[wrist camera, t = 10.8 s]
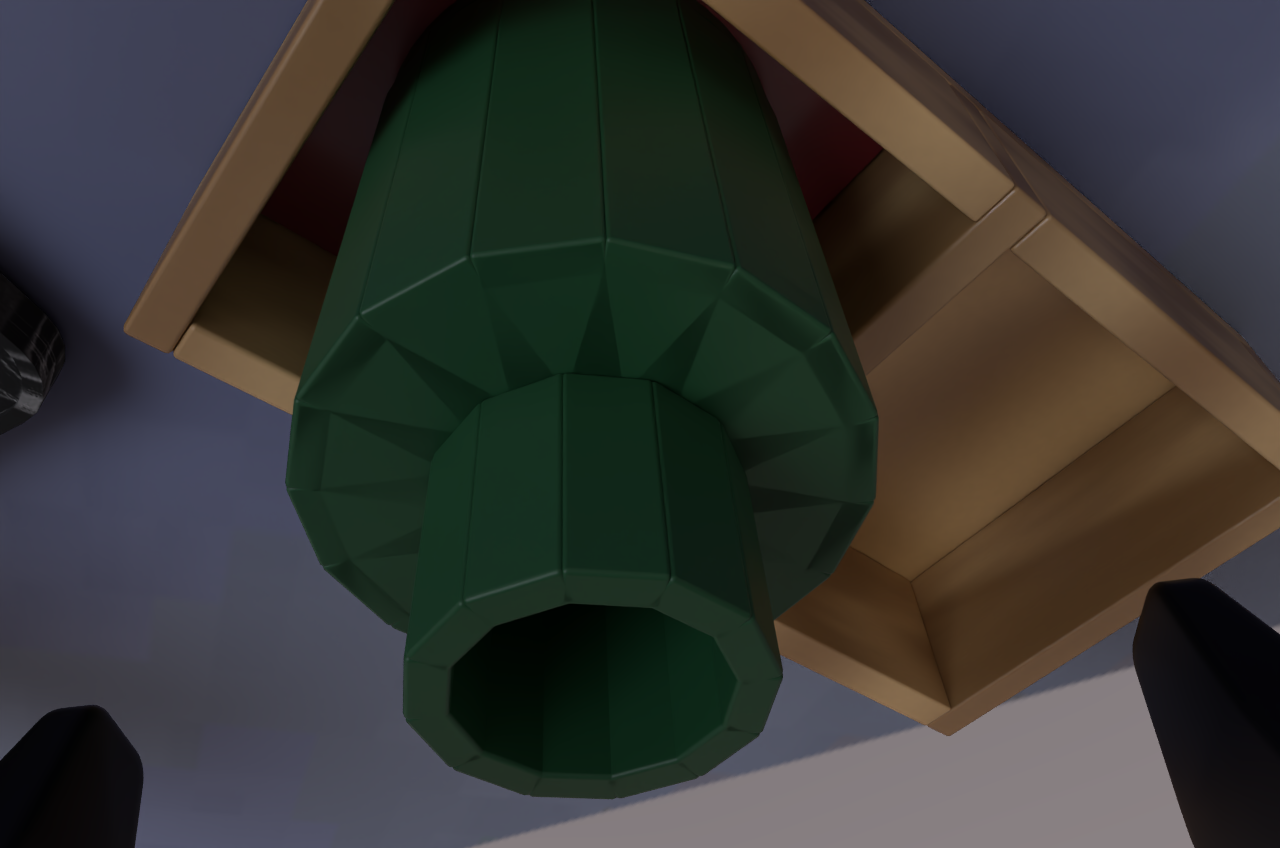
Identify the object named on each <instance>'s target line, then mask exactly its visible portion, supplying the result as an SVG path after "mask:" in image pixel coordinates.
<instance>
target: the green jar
mask: <svg viewBox="0 0 1280 848" xmlns="http://www.w3.org/2000/svg"><path fill="white" fill-rule="evenodd" d="M878 431H879V416H878V413H877V408H876V405H875V402H874V399H873V396H872V394H871V391H870V388H869V385H868V382H867V379H866V376H865V373H864V370H863V367H862V365H861V362H860V359H859V356H858V353H857V350H856V347H855V344H854V341H853V338H852V335H851V333H850V330H849V327H848V324H847V321H846V318H845V315H844V312H843V309H842V306H841V303H840V301H839V298H838V295H837V292H836V289H835V286H834V283H833V280H832V277H831V274H830V271H829V269H828V266H827V263H826V260H825V257H824V254H823V251H822V248H821V245H820V242H819V240H818V237H817V234H816V231H815V228H814V225H813V222H812V219H811V216H810V213H809V210H808V208H807V205H806V202H805V199H804V196H803V193H802V190H801V187H800V184H799V181H798V178H797V176H796V173H795V170H794V167H793V164H792V161H791V158H790V155H789V152H788V149H787V147H786V144H785V141H784V138H783V135H782V132H781V129H780V126H779V123H778V120H777V117H776V115H775V113H774V111H773V109H772V107H771V105H770V103H769V101H768V99H767V97H766V95H765V92H764V89H763V87H762V85H761V82H760V80H759V77H758V75H757V72H756V70H755V68H754V66H753V64H752V63H751V61H750V59H749V58H748V56H747V54H746V53H745V51H744V49H743V48H742V46H741V45H740V44H739V42H738V41H737V40H736V39H735V37H734V36H733V35H732V34H731V32H730V31H729V30H728V29H727V27H726V26H725V25H724V24H723V23H722V22H721V21H719V20H718V19H717V18H716V17H715V16H714V15H713V14H712V13H711V12H710V11H709V10H708V9H707V8H705V7H704V6H703V5H701V4H700V3H698V2H697V1H696V0H458V1H456V2H455V3H453V4H452V5H451V6H449V7H448V8H447V9H446V10H444V11H443V12H442V13H441V14H440V15H439V16H438V17H437V18H436V19H435V20H434V21H433V22H432V23H431V24H430V25H429V26H428V27H427V28H426V30H425V31H424V32H423V33H422V35H421V36H420V37H419V39H418V40H417V41H416V42H415V44H414V45H413V46H412V48H411V49H410V51H409V53H408V55H407V57H406V58H405V60H404V62H403V64H402V66H401V67H400V69H399V72H398V74H397V77H396V79H395V82H394V84H393V85H392V87H391V88H390V90H389V91H388V93H387V96H386V98H385V101H384V104H383V107H382V111H381V114H380V117H379V121H378V124H377V127H376V131H375V134H374V137H373V140H372V144H371V147H370V150H369V154H368V157H367V160H366V164H365V167H364V170H363V174H362V177H361V180H360V183H359V187H358V190H357V193H356V197H355V200H354V203H353V207H352V210H351V213H350V216H349V220H348V223H347V226H346V230H345V233H344V236H343V240H342V243H341V246H340V250H339V253H338V256H337V259H336V263H335V266H334V269H333V273H332V276H331V279H330V283H329V286H328V289H327V293H326V296H325V299H324V302H323V306H322V309H321V312H320V316H319V319H318V322H317V326H316V329H315V332H314V336H313V339H312V342H311V345H310V349H309V352H308V355H307V359H306V362H305V365H304V369H303V372H302V375H301V378H300V382H299V385H298V388H297V392H296V395H295V398H294V404H293V414H292V423H291V433H290V442H289V452H288V461H287V471H286V480H285V483H286V486H287V492H288V494H289V496H290V499H291V501H292V503H293V505H294V507H295V510H296V512H297V514H298V516H299V518H300V521H301V523H302V525H303V527H304V529H305V532H306V534H307V536H308V538H309V540H310V543H311V545H312V547H313V549H314V551H315V554H316V556H317V558H318V560H319V562H320V564H321V565H322V566H323V568H324V570H326V571H327V572H328V573H329V574H330V575H331V576H332V577H334V578H335V579H336V580H337V581H338V582H339V583H340V584H342V585H343V586H344V587H345V588H346V589H347V590H349V591H350V592H351V593H352V594H353V595H354V596H355V597H357V598H358V599H359V600H360V601H361V602H362V603H363V604H365V605H366V606H367V607H368V608H369V609H370V610H371V611H373V612H374V613H375V614H376V615H377V616H378V617H379V618H381V619H382V620H383V621H384V622H385V623H386V624H388V625H391V626H392V627H393V628H395V629H397V630H399V631H402V632H404V633H407V638H406V646H405V653H404V676H403V714H404V717H405V718H406V721H407V723H408V724H409V725H410V726H411V727H412V728H413V729H414V730H415V731H416V732H417V733H418V735H419V736H420V737H421V738H422V739H423V740H424V741H425V742H426V743H427V744H428V745H429V746H430V747H431V748H432V749H433V750H434V751H435V752H436V754H437V755H438V756H439V757H440V758H441V759H442V760H443V761H444V762H445V763H446V764H447V765H448V766H449V767H453V769H454V770H456V771H459V772H461V773H464V774H467V775H470V776H472V777H475V778H478V779H481V780H484V781H486V782H489V783H492V784H495V785H497V786H500V787H503V788H506V789H508V790H511V791H514V792H517V793H520V794H522V795H530V796H532V797H559V798H590V799H615V798H616V797H617V798H624V797H628V796H632V795H636V794H639V793H643V792H647V791H651V790H655V789H658V788H662V787H666V786H670V785H674V784H678V783H681V782H685V781H689V780H693V779H696V778H698V777H699V776H703V775H705V774H706V773H708V772H709V771H710V770H712V769H713V768H715V767H716V766H717V765H719V764H720V763H722V762H723V761H725V760H726V759H727V758H729V757H730V756H732V755H733V754H734V753H736V752H737V751H739V750H740V749H741V748H743V747H744V746H746V745H747V744H748V743H750V742H751V741H753V740H754V739H755V738H757V737H758V736H759V735H760V733H761V732H762V731H763V729H764V726H765V724H766V721H767V718H768V716H769V713H770V710H771V708H772V705H773V703H774V700H775V697H776V695H777V692H778V689H779V687H780V684H781V681H782V678H783V673H782V672H783V668H782V663H781V658H780V652H779V647H778V641H777V636H776V631H775V625H774V620H775V619H777V618H778V617H779V616H781V615H782V614H783V613H784V612H786V611H787V610H788V609H790V608H791V607H792V606H793V605H795V604H796V603H797V602H799V601H800V600H801V599H802V598H804V597H805V596H806V595H808V594H809V593H810V592H811V591H813V590H814V589H815V588H817V587H818V586H819V585H820V584H822V583H823V582H824V581H826V580H827V579H828V578H829V577H830V576H831V574H832V573H834V571H835V570H836V568H837V566H838V565H839V563H840V561H841V559H842V558H843V556H844V554H845V553H846V551H847V549H848V547H849V546H850V544H851V542H852V541H853V539H854V537H855V535H856V534H857V532H858V530H859V529H860V527H861V525H862V523H863V522H864V520H865V518H866V517H867V515H868V513H869V511H870V510H871V508H872V506H873V505H874V500H875V498H876V483H877V457H878Z"/></svg>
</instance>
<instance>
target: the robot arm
mask: <svg viewBox="0 0 1280 848" xmlns="http://www.w3.org/2000/svg"><path fill="white" fill-rule="evenodd" d="M1133 660H1134V666H1135V670H1136V673H1137V676H1138V679H1139V682H1140V685H1141V688H1142V692H1143V695H1144V698H1145V701H1146V704H1147V707H1148V710H1149V713H1150V716H1151V719H1152V723H1153V726H1154V729H1155V732H1156V735H1157V738H1158V741H1159V744H1160V747H1161V750H1162V754H1163V757H1164V759H1165V763H1166V766H1167V769H1168V772H1169V775H1170V778H1171V781H1172V784H1173V788H1174V791H1175V793H1176V797H1177V800H1178V803H1179V806H1180V809H1181V812H1182V815H1183V818H1184V821H1185V823H1186V827H1187V829H1188V832H1189V835H1190V838H1191V840H1192V843H1193V845H1194V847H1195V848H1280V634H1279V633H1277V632H1276V631H1275V630H1273V629H1272V628H1271V627H1269V626H1268V625H1267V624H1265V623H1264V622H1263V621H1261V620H1260V619H1259V618H1258V617H1256V616H1255V615H1254V614H1252V613H1251V612H1250V611H1248V610H1247V609H1246V608H1244V607H1243V606H1242V605H1240V604H1239V603H1238V602H1236V601H1235V600H1234V599H1232V598H1231V597H1230V596H1228V595H1227V594H1226V593H1224V592H1223V591H1222V590H1221V589H1219V588H1218V587H1217V586H1215V585H1214V584H1212V583H1211V582H1209V581H1206V580H1204V579H1201V578H1187V579H1178V580H1170V581H1161V582H1157V583H1155V584H1154V585H1153V586H1152V587H1150V588H1149V590H1148V593H1147V595H1146V599H1145V602H1144V606H1143V609H1142V612H1141V616H1140V619H1139V623H1138V626H1137V630H1136V633H1135V637H1134V641H1133ZM142 788H143V766H142V762H141V759H140V756H139V754H138V753H137V751H136V750H135V748H134V747H133V746H132V744H131V743H130V742H129V740H128V739H127V737H126V736H125V735H124V733H123V732H122V731H121V729H120V728H119V727H118V725H117V724H116V723H115V721H114V720H113V719H112V717H111V716H110V715H109V713H108V712H107V711H106V710H105V709H103V708H102V707H99V706H97V705H86V706H77V707H68V708H60V709H56V710H53V711H51V712H49V713H47V714H46V715H45V716H43V717H42V718H41V719H40V720H39V721H38V722H37V723H36V724H35V725H34V726H33V727H32V728H31V729H30V730H29V731H28V732H27V733H26V734H25V735H24V736H23V737H22V739H21V740H20V741H19V742H18V743H17V744H16V745H15V746H14V747H13V748H12V749H11V750H10V751H9V752H8V753H7V754H6V755H5V756H4V757H3V758H2V760H1V761H0V848H135V841H136V833H137V826H138V818H139V811H140V803H141V796H142Z"/></svg>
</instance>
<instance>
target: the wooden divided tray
mask: <svg viewBox="0 0 1280 848" xmlns="http://www.w3.org/2000/svg"><path fill="white" fill-rule="evenodd" d="M456 1H458V0H308V1H307V2H306V4H305V6H304V7H303V9H302V11H301V13H300V14H299V16H298V18H297V19H296V21H295V23H294V24H293V26H292V28H291V30H290V31H289V33H288V35H287V36H286V38H285V40H284V42H283V43H282V45H281V47H280V48H279V50H278V52H277V53H276V55H275V57H274V59H273V60H272V62H271V64H270V65H269V67H268V69H267V71H266V72H265V74H264V76H263V77H262V79H261V81H260V82H259V84H258V86H257V88H256V89H255V91H254V93H253V94H252V96H251V98H250V100H249V101H248V103H247V105H246V106H245V108H244V110H243V111H242V113H241V115H240V117H239V118H238V120H237V122H236V123H235V125H234V127H233V129H232V130H231V132H230V134H229V135H228V137H227V139H226V140H225V142H224V144H223V146H222V147H221V149H220V151H219V152H218V154H217V156H216V158H215V159H214V161H213V163H212V164H211V166H210V168H209V169H208V171H207V173H206V175H205V176H204V178H203V180H202V181H201V183H200V185H199V187H198V188H197V190H196V192H195V194H194V196H193V197H192V199H191V201H190V203H189V205H188V207H187V209H186V211H185V212H184V214H183V216H182V218H181V220H180V222H179V224H178V225H177V227H176V229H175V231H174V233H173V235H172V237H171V238H170V240H169V242H168V244H167V246H166V248H165V250H164V251H163V253H162V255H161V257H160V259H159V261H158V263H157V265H156V266H155V268H154V270H153V272H152V274H151V276H150V278H149V279H148V281H147V283H146V285H145V287H144V289H143V291H142V292H141V294H140V296H139V298H138V300H137V302H136V304H135V306H134V307H133V309H132V311H131V313H130V315H129V317H128V319H127V320H126V322H125V324H124V332H125V333H126V334H127V335H129V336H132V337H134V338H136V339H138V340H140V341H142V342H144V343H146V344H148V345H150V346H152V347H154V348H156V349H158V350H160V351H162V352H164V353H170V352H171V351H173V350H174V357H176V358H177V359H179V360H181V361H183V362H185V363H187V364H189V365H191V366H193V367H195V368H197V369H199V370H201V371H203V372H205V373H207V374H209V375H211V376H213V377H215V378H217V379H219V380H221V381H224V382H226V383H228V384H230V385H232V386H234V387H236V388H238V389H240V390H242V391H244V392H246V393H248V394H250V395H252V396H254V397H256V398H258V399H260V400H262V401H264V402H266V403H269V404H271V405H273V406H275V407H277V408H279V409H281V410H283V411H285V412H287V413H289V414H291V415H292V414H293V404H294V398H295V395H296V392H297V388H298V385H299V382H300V378H301V375H302V372H303V369H304V365H305V362H306V359H307V355H308V352H309V349H310V345H311V342H312V339H313V336H314V332H315V329H316V326H317V322H318V319H319V316H320V312H321V309H322V306H323V302H324V299H325V296H326V293H327V289H328V286H329V283H330V279H331V276H332V273H333V269H334V266H335V263H336V259H337V256H338V253H339V250H340V246H341V243H342V240H343V236H344V233H345V230H346V226H347V223H348V220H349V216H350V213H351V210H352V207H353V203H354V200H355V197H356V193H357V190H358V187H359V183H360V180H361V177H362V174H363V170H364V167H365V164H366V160H367V157H368V154H369V150H370V147H371V144H372V140H373V137H374V134H375V131H376V127H377V124H378V121H379V117H380V114H381V111H382V107H383V104H384V101H385V98H386V96H387V93H388V91H389V90H390V88H391V87H392V85H393V84H394V82H395V79H396V77H397V74H398V72H399V69H400V67H401V66H402V64H403V62H404V60H405V58H406V57H407V55H408V53H409V51H410V49H411V48H412V46H413V45H414V44H415V42H416V41H417V40H418V39H419V37H420V36H421V35H422V33H423V32H424V31H425V30H426V28H427V27H428V26H429V25H430V24H431V23H432V22H433V21H434V20H435V19H436V18H437V17H438V16H439V15H440V14H441V13H442V12H443V11H444V10H446V9H447V8H448V7H449V6H451V5H452V4H453V3H455V2H456ZM696 1H697V2H698V3H700V4H701V5H703V6H704V7H705V8H707V9H708V10H709V11H710V12H711V13H712V14H713V15H714V16H715V17H716V18H717V19H718V20H719V21H721V22H722V23H723V24H724V25H725V26H726V27H727V29H728V30H729V31H730V32H731V34H732V35H733V36H734V37H735V39H736V40H737V41H738V42H739V44H740V45H741V46H742V48H743V49H744V51H745V53H746V54H747V56H748V58H749V59H750V61H751V63H752V64H753V66H754V68H755V70H756V72H757V75H758V77H759V80H760V82H761V85H762V87H763V89H764V92H765V95H766V97H767V99H768V101H769V103H770V105H771V107H772V109H773V111H774V113H775V115H776V117H777V120H778V123H779V126H780V129H781V132H782V135H783V138H784V141H785V144H786V147H787V149H788V152H789V155H790V158H791V161H792V164H793V167H794V170H795V173H796V176H797V178H798V181H799V184H800V187H801V190H802V193H803V196H804V199H805V202H806V205H807V208H808V210H809V213H810V216H811V219H812V222H813V225H814V228H815V231H816V234H817V237H818V240H819V242H820V245H821V248H822V251H823V254H824V257H825V260H826V263H827V266H828V269H829V271H830V274H831V277H832V280H833V283H834V286H835V289H836V292H837V295H838V298H839V301H840V303H841V306H842V309H843V312H844V315H845V318H846V321H847V324H848V327H849V330H850V333H851V335H852V338H853V341H854V344H855V347H856V350H857V353H858V356H859V359H860V362H861V365H862V367H863V370H864V373H865V376H866V379H867V382H868V385H869V388H870V391H871V394H872V396H873V399H874V402H875V405H876V408H877V413H878V416H879V431H878V457H877V483H876V498H875V500H874V505H873V506H872V508H871V510H870V511H869V513H868V515H867V517H866V518H865V520H864V522H863V523H862V525H861V527H860V529H859V530H858V532H857V534H856V535H855V537H854V539H853V541H852V542H851V544H850V546H849V547H848V549H847V551H846V553H845V554H844V556H843V558H842V559H841V561H840V563H839V565H838V566H837V568H836V570H835V571H834V573H832V574H831V576H830V577H829V578H828V579H827V580H826V581H824V582H823V583H822V584H820V585H819V586H818V587H817V588H815V589H814V590H813V591H811V592H810V593H809V594H808V595H806V596H805V597H804V598H802V599H801V600H800V601H799V602H797V603H796V604H795V605H793V606H792V607H791V608H790V609H788V610H787V611H786V612H784V613H783V614H782V615H781V616H779V617H778V618H777V619H775V620H774V625H775V631H776V636H777V641H778V647H779V652H780V655H782V656H784V657H786V658H788V659H790V660H792V661H794V662H796V663H798V664H800V665H803V666H805V667H807V668H809V669H811V670H813V671H815V672H817V673H819V674H821V675H823V676H825V677H827V678H829V679H831V680H833V681H835V682H837V683H839V684H841V685H843V686H845V687H848V688H850V689H852V690H854V691H856V692H858V693H860V694H862V695H864V696H866V697H868V698H870V699H872V700H874V701H876V702H878V703H880V704H882V705H884V706H886V707H888V708H891V709H893V710H895V711H897V712H899V713H901V714H903V715H905V716H907V717H909V718H911V719H913V720H915V721H917V722H919V723H921V724H923V725H927V726H928V727H930V728H932V729H934V730H936V731H938V732H940V733H942V734H944V735H946V736H951V735H952V734H954V733H955V732H957V731H959V730H960V729H962V728H963V727H965V726H967V725H968V724H970V723H971V722H973V721H974V720H976V719H978V718H979V717H981V716H982V715H984V714H986V713H987V712H989V711H990V710H992V709H993V708H995V707H997V706H998V705H1000V704H1001V703H1003V702H1005V701H1006V700H1008V699H1009V698H1011V697H1012V696H1014V695H1016V694H1017V693H1019V692H1020V691H1022V690H1024V689H1025V688H1027V687H1028V686H1030V685H1031V684H1033V683H1035V682H1036V681H1038V680H1039V679H1041V678H1043V677H1044V676H1046V675H1047V674H1049V673H1050V672H1052V671H1054V670H1055V669H1057V668H1058V667H1060V666H1062V665H1063V664H1065V663H1066V662H1068V661H1069V660H1071V659H1073V658H1074V657H1076V656H1077V655H1079V654H1081V653H1082V652H1084V651H1085V650H1087V649H1088V648H1090V647H1092V646H1093V645H1095V644H1096V643H1098V642H1100V641H1101V640H1103V639H1104V638H1106V637H1107V636H1109V635H1111V634H1112V633H1114V632H1115V631H1117V630H1119V629H1120V628H1122V627H1123V626H1125V625H1126V624H1128V623H1130V622H1131V621H1133V620H1134V619H1136V618H1138V617H1139V616H1141V612H1142V609H1143V606H1144V602H1145V599H1146V595H1147V593H1148V590H1149V588H1150V587H1152V586H1153V585H1154V584H1155V583H1157V582H1161V581H1170V580H1178V579H1187V578H1201V577H1202V576H1204V575H1206V574H1207V573H1209V572H1210V571H1212V570H1214V569H1215V568H1217V567H1218V566H1220V565H1221V564H1223V563H1225V562H1226V561H1228V560H1229V559H1231V558H1233V557H1234V556H1236V555H1237V554H1239V553H1240V552H1242V551H1244V550H1245V549H1247V548H1248V547H1250V546H1252V545H1253V544H1255V543H1256V542H1258V541H1259V540H1261V539H1263V538H1264V537H1266V536H1267V535H1269V534H1271V533H1272V532H1274V531H1275V530H1277V529H1278V528H1280V382H1279V381H1278V380H1277V379H1276V378H1275V376H1274V375H1273V374H1272V373H1271V371H1270V370H1269V369H1268V368H1267V366H1266V365H1265V364H1264V363H1263V362H1262V360H1261V359H1260V358H1259V357H1258V356H1257V355H1256V354H1255V352H1254V350H1253V349H1252V348H1251V347H1250V346H1249V344H1248V343H1247V342H1246V341H1245V339H1244V338H1243V337H1242V336H1241V335H1240V334H1238V333H1237V332H1236V331H1235V330H1234V329H1233V328H1232V327H1231V326H1229V325H1228V324H1227V323H1226V322H1225V321H1224V320H1223V319H1222V318H1220V317H1219V316H1218V315H1217V314H1216V313H1215V312H1214V311H1213V310H1211V309H1210V308H1209V307H1208V306H1207V305H1206V304H1205V303H1204V302H1202V301H1201V300H1200V299H1199V298H1198V297H1197V296H1196V295H1195V294H1194V293H1192V292H1191V291H1190V290H1189V289H1188V288H1187V287H1186V286H1185V285H1183V284H1182V283H1181V282H1180V281H1179V280H1178V279H1177V278H1176V277H1174V276H1173V275H1172V274H1171V273H1170V272H1169V271H1168V270H1167V269H1165V268H1164V267H1163V266H1162V265H1161V264H1160V263H1159V262H1158V261H1156V260H1155V259H1154V258H1153V257H1152V256H1151V255H1150V254H1149V253H1147V252H1146V251H1145V250H1144V249H1143V248H1142V247H1141V246H1140V245H1138V244H1137V243H1136V242H1135V241H1134V240H1133V239H1132V238H1131V237H1130V236H1128V235H1127V234H1126V233H1125V232H1124V231H1123V230H1122V229H1121V228H1119V227H1118V226H1117V225H1116V224H1115V223H1114V222H1113V221H1112V220H1110V219H1109V218H1108V217H1107V216H1106V215H1105V214H1104V213H1103V212H1101V211H1100V210H1099V209H1098V208H1097V207H1096V206H1095V205H1094V204H1092V203H1091V202H1090V201H1089V200H1088V199H1087V198H1086V197H1085V196H1083V195H1082V194H1081V193H1080V192H1079V191H1078V190H1077V189H1076V188H1074V187H1073V186H1072V185H1071V184H1070V183H1069V182H1068V181H1067V180H1066V179H1064V178H1063V177H1062V176H1061V175H1060V174H1059V173H1058V172H1057V171H1055V170H1054V169H1053V168H1052V167H1051V166H1050V165H1049V164H1048V163H1046V162H1045V161H1044V160H1043V159H1042V158H1041V157H1040V156H1039V155H1037V154H1036V153H1035V152H1034V151H1033V150H1032V149H1031V148H1030V147H1028V146H1027V145H1026V144H1025V143H1024V142H1023V141H1022V140H1021V139H1019V138H1018V137H1017V136H1016V135H1015V134H1014V133H1013V132H1012V131H1010V130H1009V129H1008V128H1007V127H1006V126H1005V125H1004V124H1003V123H1002V122H1000V121H999V120H998V119H997V118H996V117H995V116H994V115H993V114H991V113H990V112H989V111H988V110H987V109H986V108H985V107H984V106H982V105H981V104H980V103H979V102H978V101H977V100H976V99H975V98H973V97H972V96H971V95H970V94H969V93H968V92H967V91H966V90H964V89H963V88H962V87H961V86H960V85H959V84H958V83H957V82H955V81H954V80H953V79H952V78H951V77H950V76H949V75H948V74H946V73H945V72H944V71H943V70H942V69H941V68H940V67H939V66H938V65H936V64H935V63H934V62H933V61H932V60H931V59H930V58H929V57H927V56H926V55H925V54H924V53H923V52H922V51H921V50H920V49H918V48H917V47H916V46H915V45H914V44H913V43H912V42H911V41H909V40H908V39H907V38H906V37H905V36H904V35H903V34H902V33H900V32H899V31H898V30H897V29H896V28H895V27H894V26H893V25H891V24H890V23H889V22H888V21H887V20H886V19H885V18H884V17H882V16H881V15H880V14H879V13H878V12H877V11H876V10H875V9H874V8H872V7H871V6H870V5H869V4H868V3H867V2H866V1H865V0H696Z"/></svg>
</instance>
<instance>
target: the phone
mask: <svg viewBox="0 0 1280 848" xmlns="http://www.w3.org/2000/svg"><path fill="white" fill-rule="evenodd" d="M64 362H65V345H64V343H63V340H62V338H61V336H60V333H59V331H58V329H57V327H56V326H55V325H54V324H53V323H52V322H51V320H50V319H49V318H48V317H47V316H46V315H45V313H44V312H43V311H42V310H41V309H39V308H38V307H37V306H36V305H35V304H34V303H33V302H32V301H31V300H30V299H29V298H27V297H26V296H25V295H24V294H23V293H22V292H21V291H20V290H19V289H18V288H17V287H15V286H14V285H13V284H12V283H11V282H10V281H9V280H8V279H7V278H6V277H5V276H4V275H2V274H1V273H0V435H1V434H3V433H5V432H7V431H9V430H11V429H13V428H15V427H17V426H19V425H20V424H22V423H24V422H26V421H27V420H28V419H29V418H31V417H32V416H33V415H34V414H36V413H37V411H38V410H39V408H40V406H41V404H42V403H43V401H44V399H45V397H46V396H47V394H48V392H49V390H50V389H51V387H52V385H53V384H54V382H55V380H56V378H57V377H58V375H59V373H60V371H61V369H62V367H63V364H64Z"/></svg>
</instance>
